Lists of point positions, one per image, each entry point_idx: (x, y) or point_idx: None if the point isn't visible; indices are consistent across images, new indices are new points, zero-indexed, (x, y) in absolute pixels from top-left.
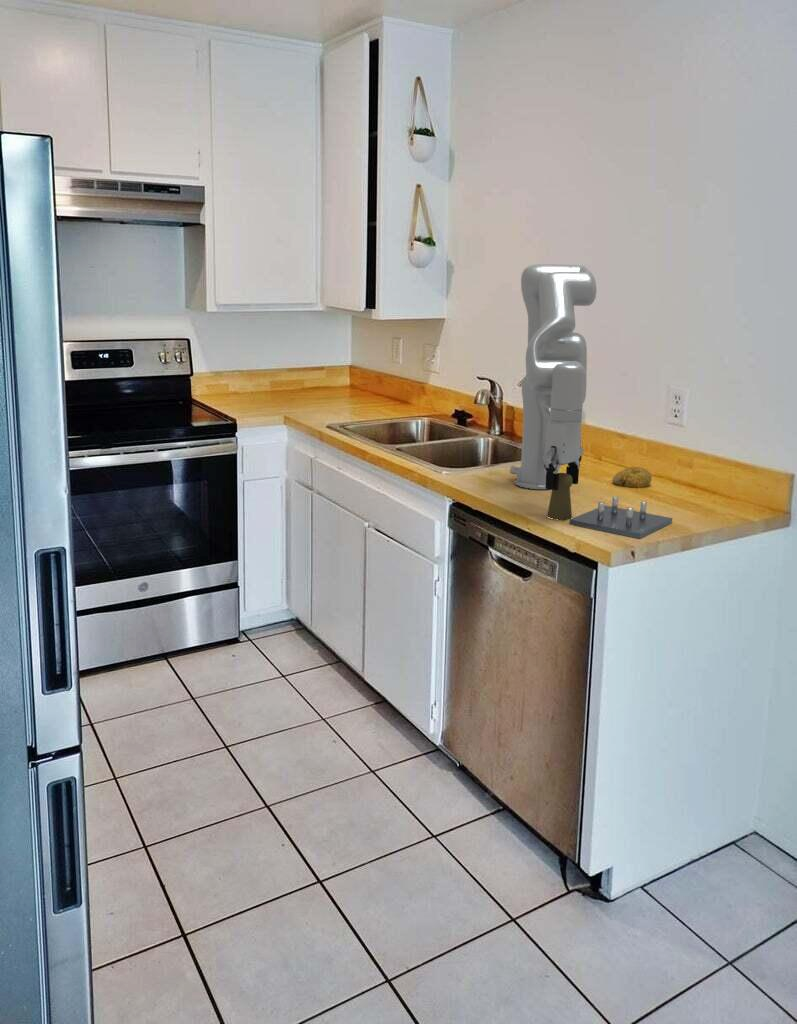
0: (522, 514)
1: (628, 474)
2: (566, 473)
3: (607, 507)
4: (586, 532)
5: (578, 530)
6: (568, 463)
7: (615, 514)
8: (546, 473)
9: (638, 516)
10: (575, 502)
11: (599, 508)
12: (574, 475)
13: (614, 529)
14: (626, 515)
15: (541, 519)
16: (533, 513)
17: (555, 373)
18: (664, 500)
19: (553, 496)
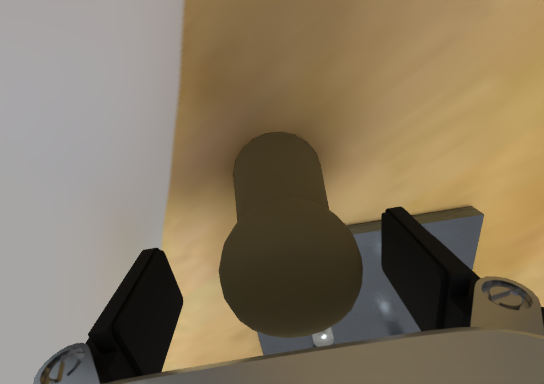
0: (186, 54)
1: None
2: (337, 305)
3: (458, 236)
4: (213, 306)
5: (209, 288)
6: (469, 322)
7: (391, 290)
8: (93, 328)
9: (412, 328)
10: (527, 67)
11: None
12: (405, 292)
13: (263, 350)
14: (402, 309)
15: (200, 156)
16: (238, 75)
17: None
18: None
19: (237, 209)
